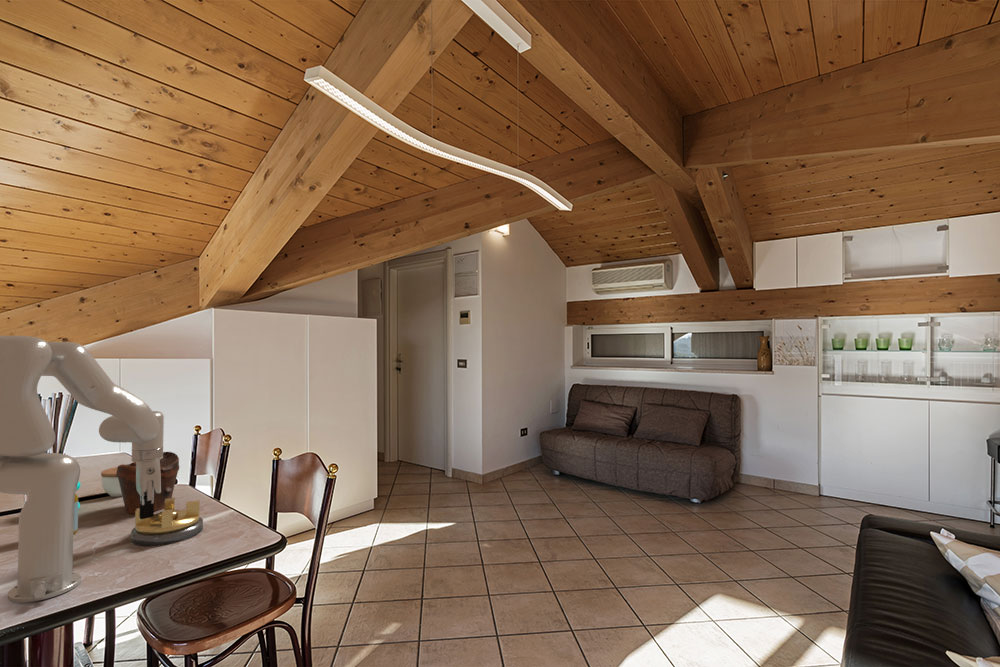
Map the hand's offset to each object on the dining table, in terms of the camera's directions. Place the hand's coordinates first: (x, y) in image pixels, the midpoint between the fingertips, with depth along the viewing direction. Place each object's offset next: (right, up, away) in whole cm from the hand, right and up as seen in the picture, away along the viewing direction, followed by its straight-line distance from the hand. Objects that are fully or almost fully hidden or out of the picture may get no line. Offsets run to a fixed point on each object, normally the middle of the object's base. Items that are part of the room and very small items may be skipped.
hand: (146, 517), depth 145 cm
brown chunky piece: (-20, -7, +28) cm, 35 cm away
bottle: (-28, -7, +3) cm, 29 cm away
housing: (+3, -7, +5) cm, 9 cm away
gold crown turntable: (+3, -4, +5) cm, 7 cm away
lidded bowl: (-41, -8, +44) cm, 60 cm away
